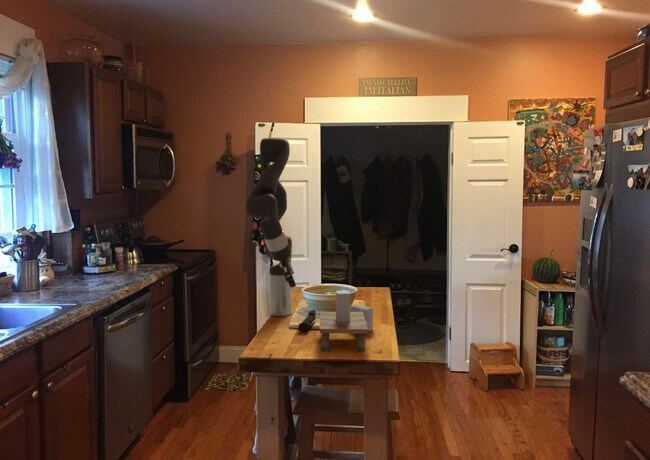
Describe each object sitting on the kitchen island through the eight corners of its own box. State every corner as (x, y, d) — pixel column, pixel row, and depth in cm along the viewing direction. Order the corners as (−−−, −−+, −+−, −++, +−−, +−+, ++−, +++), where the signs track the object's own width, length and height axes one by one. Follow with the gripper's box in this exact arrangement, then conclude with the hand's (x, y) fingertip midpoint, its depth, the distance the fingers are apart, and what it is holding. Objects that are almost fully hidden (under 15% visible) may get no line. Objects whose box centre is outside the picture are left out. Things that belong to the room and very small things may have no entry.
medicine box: (373, 330, 200) (373, 308, 199) (365, 332, 196) (365, 310, 196) (358, 325, 205) (358, 304, 204) (350, 328, 202) (350, 306, 201)
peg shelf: (320, 332, 196) (320, 311, 195) (362, 332, 196) (363, 311, 195) (319, 352, 174) (319, 328, 173) (367, 352, 174) (367, 329, 173)
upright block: (335, 318, 186) (336, 290, 185) (348, 318, 186) (348, 290, 185) (336, 321, 182) (337, 293, 181) (349, 321, 182) (350, 293, 181)
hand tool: (308, 333, 195) (308, 321, 195) (298, 332, 196) (298, 320, 196) (321, 320, 214) (321, 309, 213) (311, 319, 215) (311, 308, 214)
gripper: (289, 251, 180) (304, 287, 188) (286, 232, 193) (299, 267, 200) (268, 258, 180) (284, 294, 188) (266, 238, 193) (281, 273, 200)
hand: (292, 280), depth 194 cm, fingers open, 8 cm apart
